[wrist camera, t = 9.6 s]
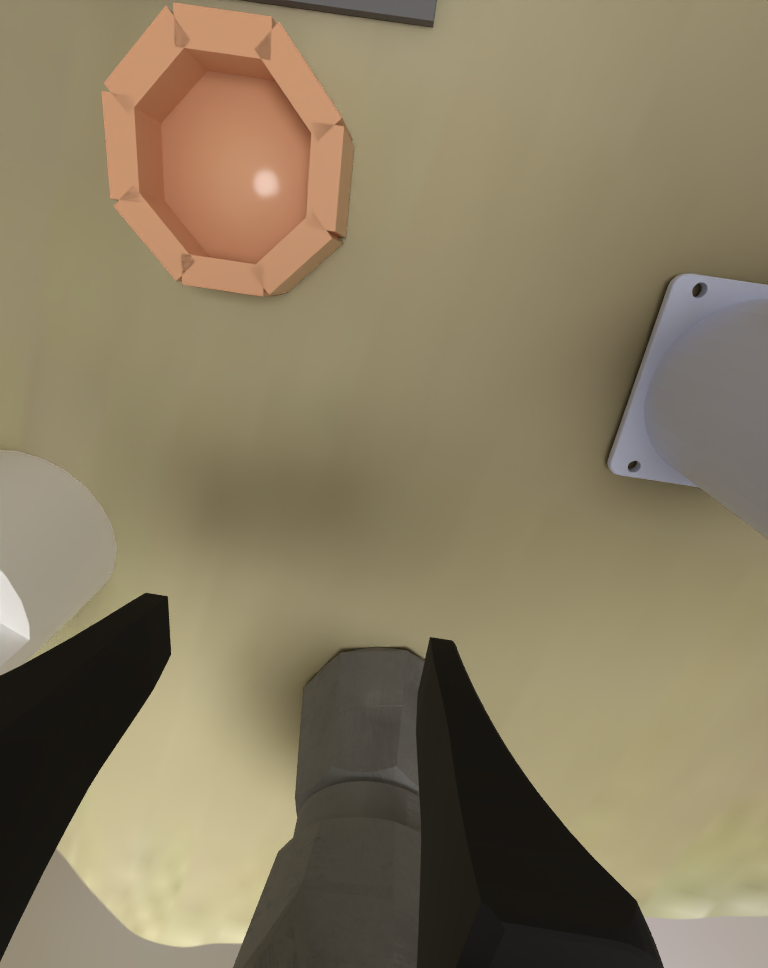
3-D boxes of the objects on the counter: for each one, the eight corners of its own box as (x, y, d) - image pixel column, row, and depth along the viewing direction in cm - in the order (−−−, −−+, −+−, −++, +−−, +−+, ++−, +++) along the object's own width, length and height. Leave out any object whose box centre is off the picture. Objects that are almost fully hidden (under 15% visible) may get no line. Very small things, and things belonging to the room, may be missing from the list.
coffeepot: (252, 650, 27) (-23, 1254, 10) (403, 590, 24) (366, 1245, 8) (381, 817, 32) (339, 1408, 15) (517, 780, 29) (642, 1430, 13)
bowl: (361, 64, 16) (352, 27, 14) (339, 303, 19) (329, 306, 17) (139, 32, 16) (93, -10, 14) (153, 275, 19) (116, 274, 17)
